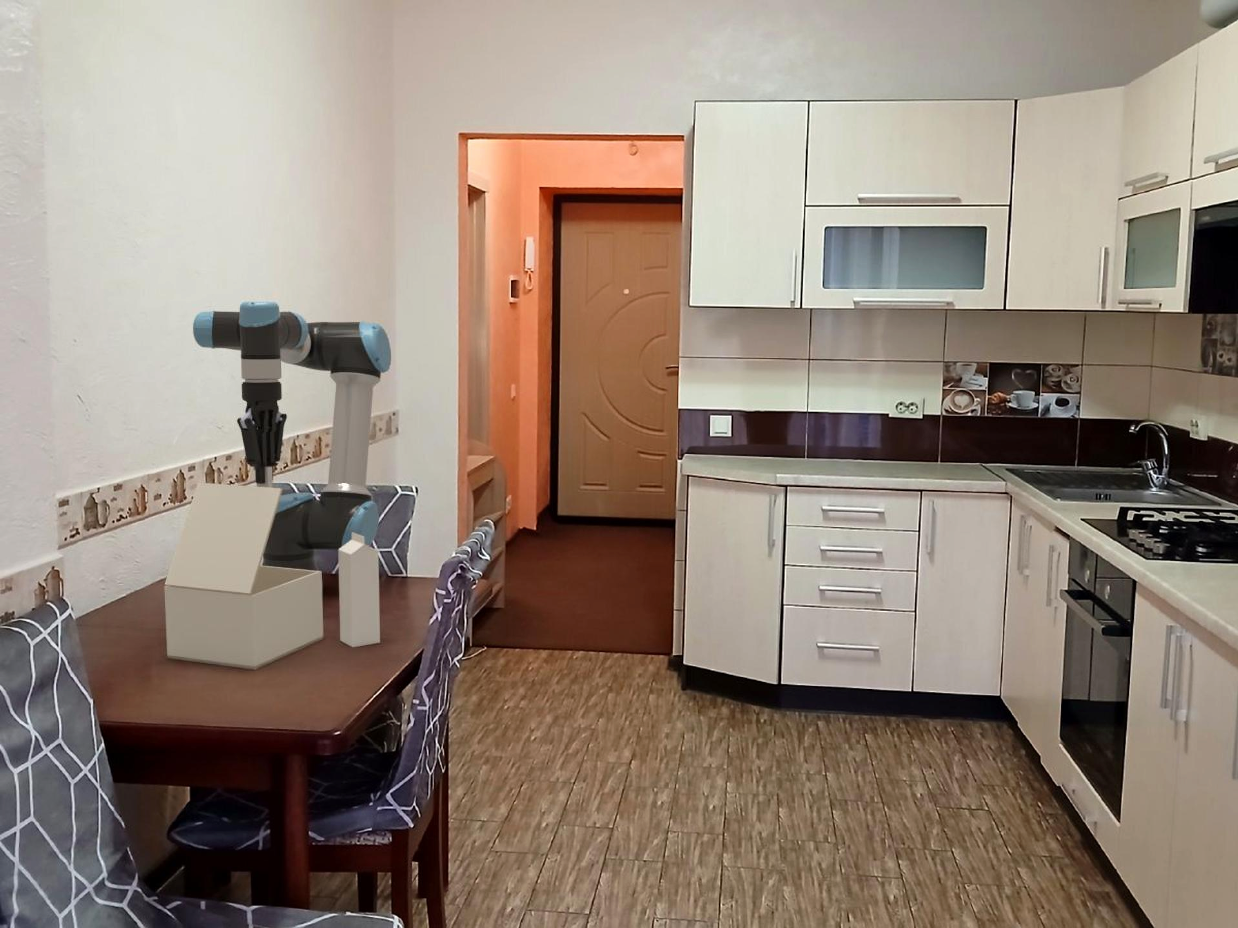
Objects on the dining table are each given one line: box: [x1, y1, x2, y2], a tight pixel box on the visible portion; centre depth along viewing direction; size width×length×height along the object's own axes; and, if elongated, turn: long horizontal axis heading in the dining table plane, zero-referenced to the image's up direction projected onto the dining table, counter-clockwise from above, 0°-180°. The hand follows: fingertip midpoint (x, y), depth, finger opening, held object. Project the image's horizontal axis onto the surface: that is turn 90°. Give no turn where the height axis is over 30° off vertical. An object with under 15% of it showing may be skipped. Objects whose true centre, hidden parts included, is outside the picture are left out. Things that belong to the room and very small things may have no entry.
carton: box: [164, 564, 324, 671], centre depth 228 cm, size 22×20×14 cm
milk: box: [337, 532, 381, 648], centre depth 233 cm, size 6×6×22 cm
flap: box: [164, 482, 284, 594], centre depth 221 cm, size 21×19×1 cm
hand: (265, 499), depth 232 cm, fingers closed
